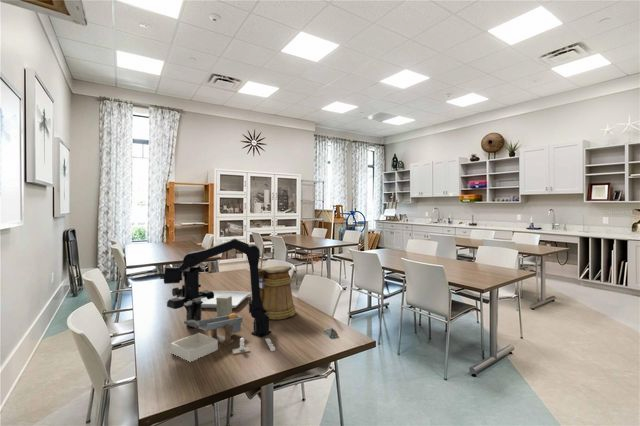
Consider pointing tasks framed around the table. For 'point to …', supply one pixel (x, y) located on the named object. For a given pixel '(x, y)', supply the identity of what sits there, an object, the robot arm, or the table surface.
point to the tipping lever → (216, 323)
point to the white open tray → (194, 346)
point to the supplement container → (197, 317)
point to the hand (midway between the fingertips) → (191, 319)
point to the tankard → (277, 292)
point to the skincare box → (224, 305)
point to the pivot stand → (223, 339)
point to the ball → (232, 316)
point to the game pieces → (242, 349)
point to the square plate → (236, 295)
